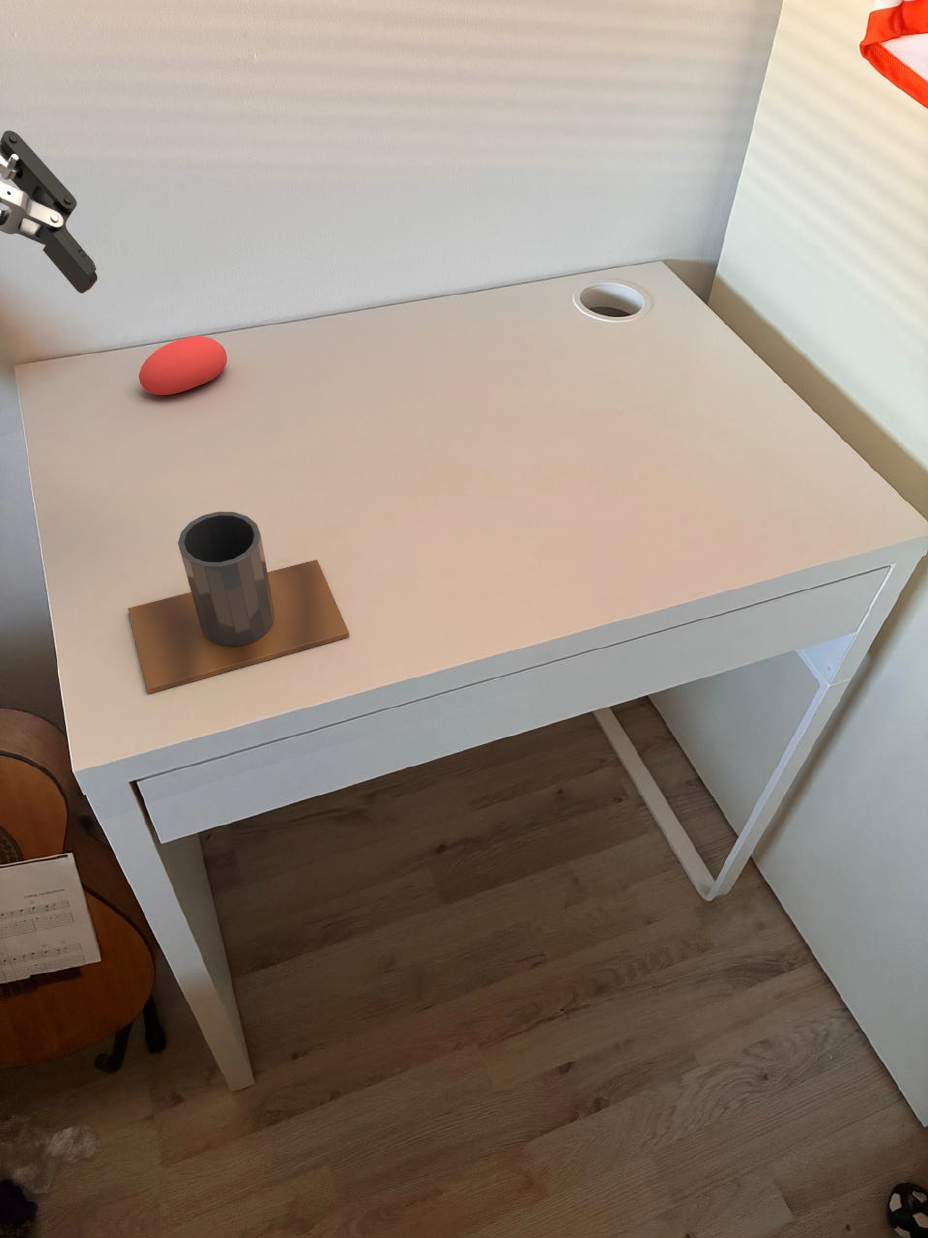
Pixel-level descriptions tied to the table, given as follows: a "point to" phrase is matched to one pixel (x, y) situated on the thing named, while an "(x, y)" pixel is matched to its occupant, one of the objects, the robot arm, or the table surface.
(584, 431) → the table surface
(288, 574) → the plate
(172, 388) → the stress ball
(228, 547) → the open gray tube
